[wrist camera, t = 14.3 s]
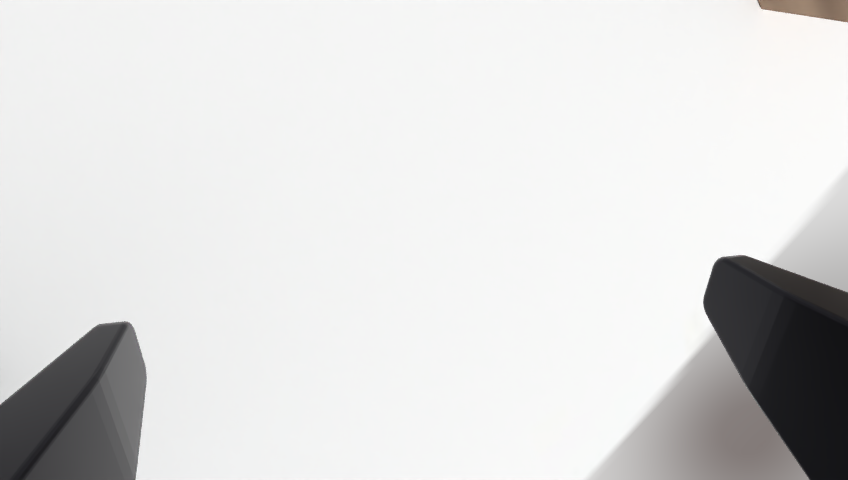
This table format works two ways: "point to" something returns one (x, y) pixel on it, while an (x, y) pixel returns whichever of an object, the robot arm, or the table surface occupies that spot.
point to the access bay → (810, 8)
